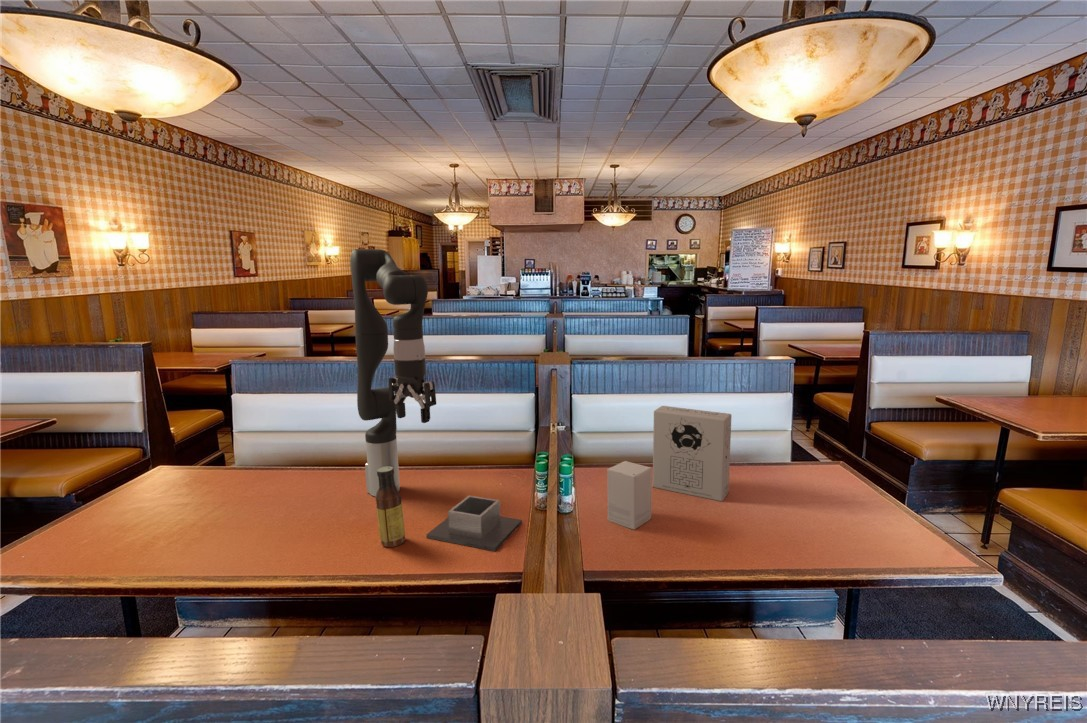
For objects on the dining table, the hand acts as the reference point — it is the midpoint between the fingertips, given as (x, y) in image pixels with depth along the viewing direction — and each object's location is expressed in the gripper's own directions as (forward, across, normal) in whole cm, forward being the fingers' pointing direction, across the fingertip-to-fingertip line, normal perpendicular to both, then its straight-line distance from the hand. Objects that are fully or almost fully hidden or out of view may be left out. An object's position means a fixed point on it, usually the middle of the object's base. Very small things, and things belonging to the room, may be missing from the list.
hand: (413, 419), depth 135 cm
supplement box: (+32, +44, +36) cm, 65 cm away
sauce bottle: (+32, -3, -6) cm, 32 cm away
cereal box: (+32, +51, +64) cm, 88 cm away
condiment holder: (+31, +11, +10) cm, 35 cm away
